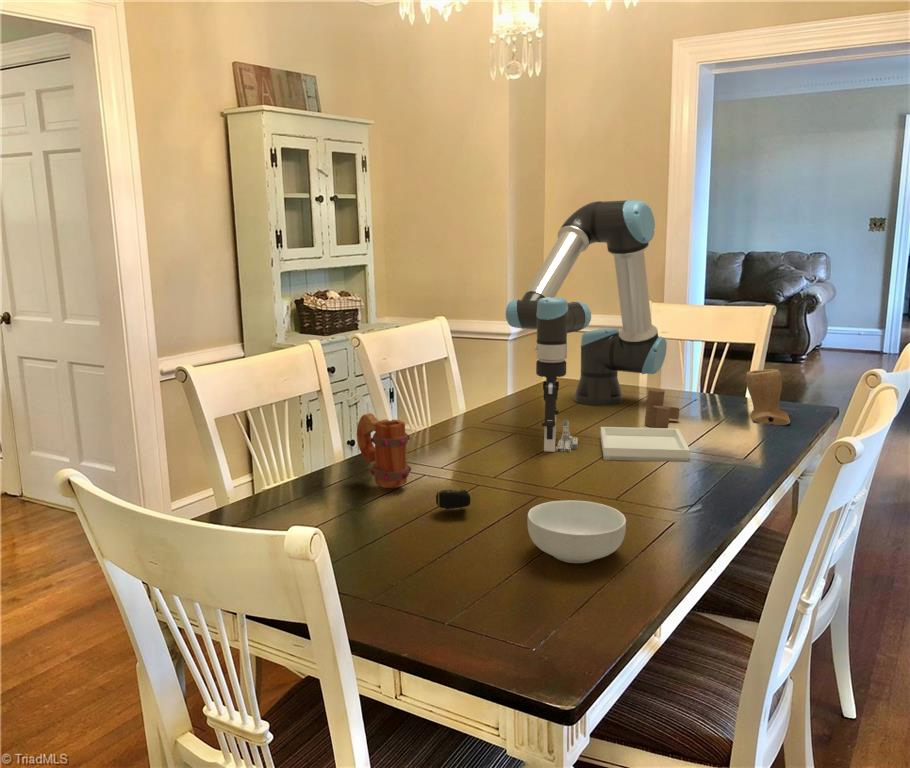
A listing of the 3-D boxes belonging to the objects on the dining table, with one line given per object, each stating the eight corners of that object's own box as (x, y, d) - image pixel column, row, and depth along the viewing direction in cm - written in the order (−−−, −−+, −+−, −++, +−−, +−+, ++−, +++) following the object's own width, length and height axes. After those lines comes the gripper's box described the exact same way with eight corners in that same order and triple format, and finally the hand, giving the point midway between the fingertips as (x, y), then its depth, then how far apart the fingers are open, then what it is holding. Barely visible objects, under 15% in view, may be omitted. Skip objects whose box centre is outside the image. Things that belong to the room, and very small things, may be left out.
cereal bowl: (641, 569, 129) (643, 529, 127) (545, 580, 125) (545, 538, 124) (601, 531, 145) (602, 494, 144) (515, 539, 142) (515, 502, 140)
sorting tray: (600, 437, 208) (600, 426, 207) (678, 439, 205) (678, 428, 204) (603, 459, 188) (603, 447, 188) (689, 462, 186) (689, 450, 185)
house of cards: (589, 456, 192) (590, 426, 191) (554, 454, 195) (554, 424, 193) (593, 447, 201) (593, 417, 199) (559, 444, 203) (559, 416, 202)
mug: (419, 484, 172) (418, 418, 169) (392, 494, 166) (390, 425, 163) (375, 471, 182) (373, 408, 179) (348, 479, 176) (345, 414, 173)
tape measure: (471, 510, 153) (470, 491, 153) (436, 512, 152) (435, 493, 153) (470, 506, 159) (469, 488, 160) (436, 508, 159) (435, 489, 159)
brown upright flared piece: (743, 414, 231) (746, 364, 228) (786, 416, 228) (790, 366, 225) (743, 426, 217) (746, 373, 214) (790, 429, 214) (794, 375, 211)
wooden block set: (673, 438, 207) (678, 400, 205) (639, 433, 210) (644, 396, 207) (678, 423, 223) (682, 388, 221) (647, 419, 226) (651, 384, 224)
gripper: (538, 352, 208) (537, 433, 213) (534, 367, 186) (533, 457, 190) (566, 352, 207) (565, 434, 211) (566, 368, 185) (564, 458, 189)
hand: (550, 445), depth 201 cm, fingers open, 10 cm apart
